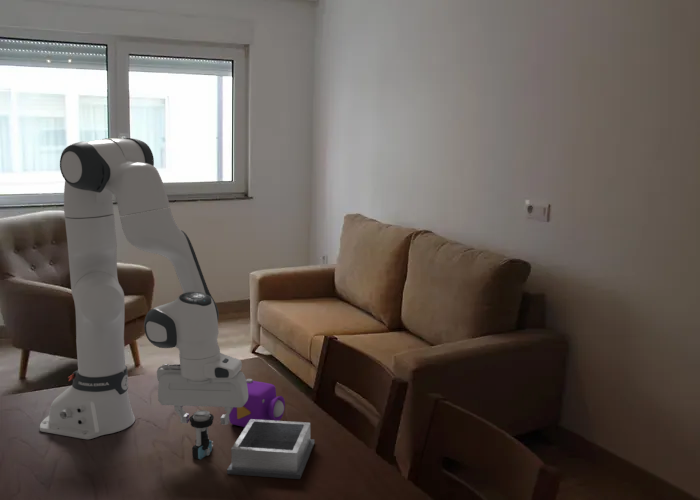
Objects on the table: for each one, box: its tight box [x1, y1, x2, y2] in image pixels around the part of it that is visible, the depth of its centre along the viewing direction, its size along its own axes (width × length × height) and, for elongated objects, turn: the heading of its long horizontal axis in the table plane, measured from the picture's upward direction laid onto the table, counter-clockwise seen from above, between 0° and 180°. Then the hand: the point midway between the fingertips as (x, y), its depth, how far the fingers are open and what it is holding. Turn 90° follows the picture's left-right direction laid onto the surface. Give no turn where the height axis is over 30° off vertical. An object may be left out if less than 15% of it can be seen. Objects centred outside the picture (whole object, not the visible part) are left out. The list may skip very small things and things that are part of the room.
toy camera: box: [229, 378, 286, 428], centre depth 174 cm, size 11×14×10 cm
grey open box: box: [226, 419, 315, 480], centre depth 156 cm, size 16×17×6 cm
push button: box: [189, 409, 215, 460], centre depth 158 cm, size 7×5×10 cm
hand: (205, 422), depth 157 cm, fingers open, 8 cm apart
